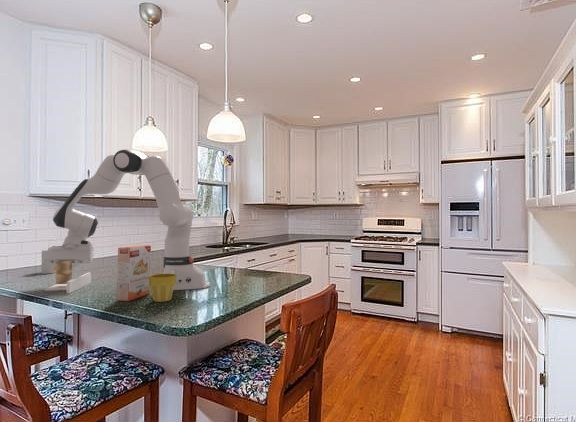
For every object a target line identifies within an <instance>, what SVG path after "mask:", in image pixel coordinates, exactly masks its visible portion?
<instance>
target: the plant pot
mask: <svg viewBox="0 0 576 422" xmlns="http://www.w3.org/2000/svg"><path fill="white" fill-rule="evenodd" d="M175 283H176V274H163V273H155V274H150V276H149V285H150V292H151V294H152V299H153V301H154V302H155V303H156V302H159V303H161V302H168V301H171V300H172V297H173V294H174V293H173V292H174V290H173V289H174V284H175Z"/></svg>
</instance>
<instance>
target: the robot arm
mask: <svg viewBox="0 0 576 422" xmlns="http://www.w3.org/2000/svg"><path fill="white" fill-rule="evenodd" d="M125 174H131V175H134V176H135V175H138V176H139V175H140V176H145V178H146V181H147V183H148V184H149V187H150V188H151V191H152V194H153V196H154V197H155V200H156V205H157V208H158V212H159V213H158V214H159V215H158V216H159V220H160V221H161V223H162V224H163V225H165V226H167V227H168V228H167V231H166V232H167V233H166V237H165V239H164V256H163V259H162V260H163V261H162V267H163V272H162V274H176V283H175V284H174V289H173V291H181V290H198V289H206V288H209V287H210V285H211V282H210V281H208V280H206V275H205V272H204V271H203V270H202V269H201V268H199V266H197V265H196V264H194V261H195V259H194V257H192V256H190V238H191V237H190V236H191V231H192V224H193V220H194V213H193V210H192V208H190V207H189V206H188V205H186V204H183V203H182V200H181V198H180V193H179V187H178V185H177V183H176V182H175V179H174V177H173V175H172V173H171V171H170V169H169V167H168V165H167V164H166V162H165V161H164V160H163V159H162V158H161V156H159V155H151V156H149V155H147V154H146V153H142V152H140V151H138V150H130V149H121V150H118V151H117V152H115V153H114V155H113V154H110V155H107V156H106V157H105V158H104V159H103V160H102V162H101V163H100V165H99V166H98V168H97V170H96V171H95V173H94V175H93V176H91V177H90V178H84V179H83V180H82V181H81V182H80V183H79V184H78V185H77V187H76V188H75V189H74V190H73V191H72V193H71V194H70V195H69V196H68V198H66V200H65V202H64V203H63V204H62V205H61V206H60V207H58V209H57V210H56V211H55V212H54V214H53V217H52V221H53V223H54V225H55V226H56V227H58V228H63V229H67V230H68V231H67V236H66V237H65V239H64V240H63V243H62V245H57V246H56V245H52V246H50V247H48V248H47V249H46V250H47V252H46V253H45V255H44V257H43V260H44V262H45V263H46V264H54V265H55V266H54V270H56V262H59V261H72V265H70V267H69V269H70V270H72V271H75V268H77V266H79V264H90V263H92V262H93V259H94V251H95V250H94V246H93V244H92V242H91V241H90V240H87V239H88V238H90V237H91V236H93V235H94V234H95V232H96V229H97V226H98V223H99V222H98V219H97V218H96V216H94V215H91V214H88V213H85V212H83V211H79V210H76V209H75V208H74V207H75V205H76V204H77V203H78V202H79V200H80V199H81V198H82V197H83V196H85V195H108V194H111V193H113V192H114V191H116V189H117V188H118V187H119V185H120V183H121V181H122V179H123V178H124V176H125Z"/></svg>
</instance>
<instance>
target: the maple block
mask: <svg viewBox="0 0 576 422" xmlns="http://www.w3.org/2000/svg"><path fill="white" fill-rule="evenodd" d="M70 265H73V263H72V261H59V262H56V272H55V274H56V275H55V285H56V284H67V281H70V280H72V279H73V270H70V269H69V267H70Z"/></svg>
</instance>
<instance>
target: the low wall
mask: <svg viewBox="0 0 576 422" xmlns="http://www.w3.org/2000/svg"><path fill="white" fill-rule="evenodd" d="M91 283H92V272H86V273H84V274H81V275H80V276H77V277H74V278H72V280H70V281H67V290H66V294H67V293H69V294H72V293H73V291H74V292H75V290H76V291H77V290H79V289H82V288H83V287H85V286H87V285H89V284H91ZM71 292H72V293H71Z"/></svg>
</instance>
